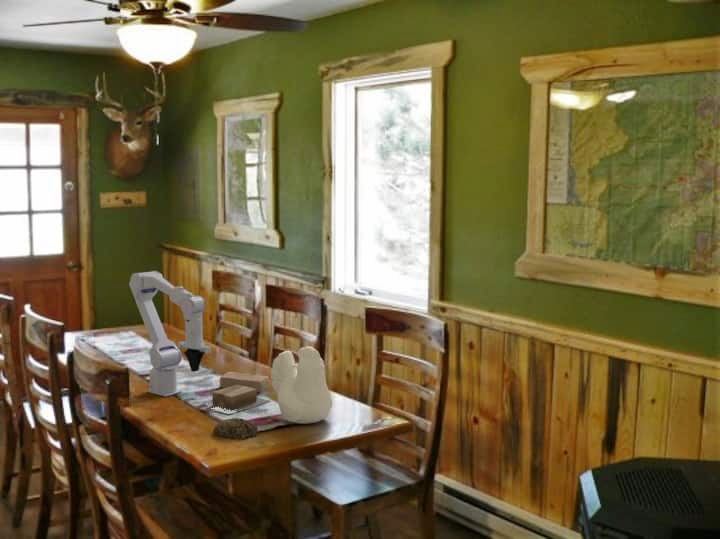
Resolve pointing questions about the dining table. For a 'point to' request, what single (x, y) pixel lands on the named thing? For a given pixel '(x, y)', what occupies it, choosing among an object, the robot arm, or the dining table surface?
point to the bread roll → (235, 429)
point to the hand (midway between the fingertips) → (194, 371)
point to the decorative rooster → (301, 386)
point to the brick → (244, 381)
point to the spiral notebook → (259, 401)
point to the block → (234, 397)
